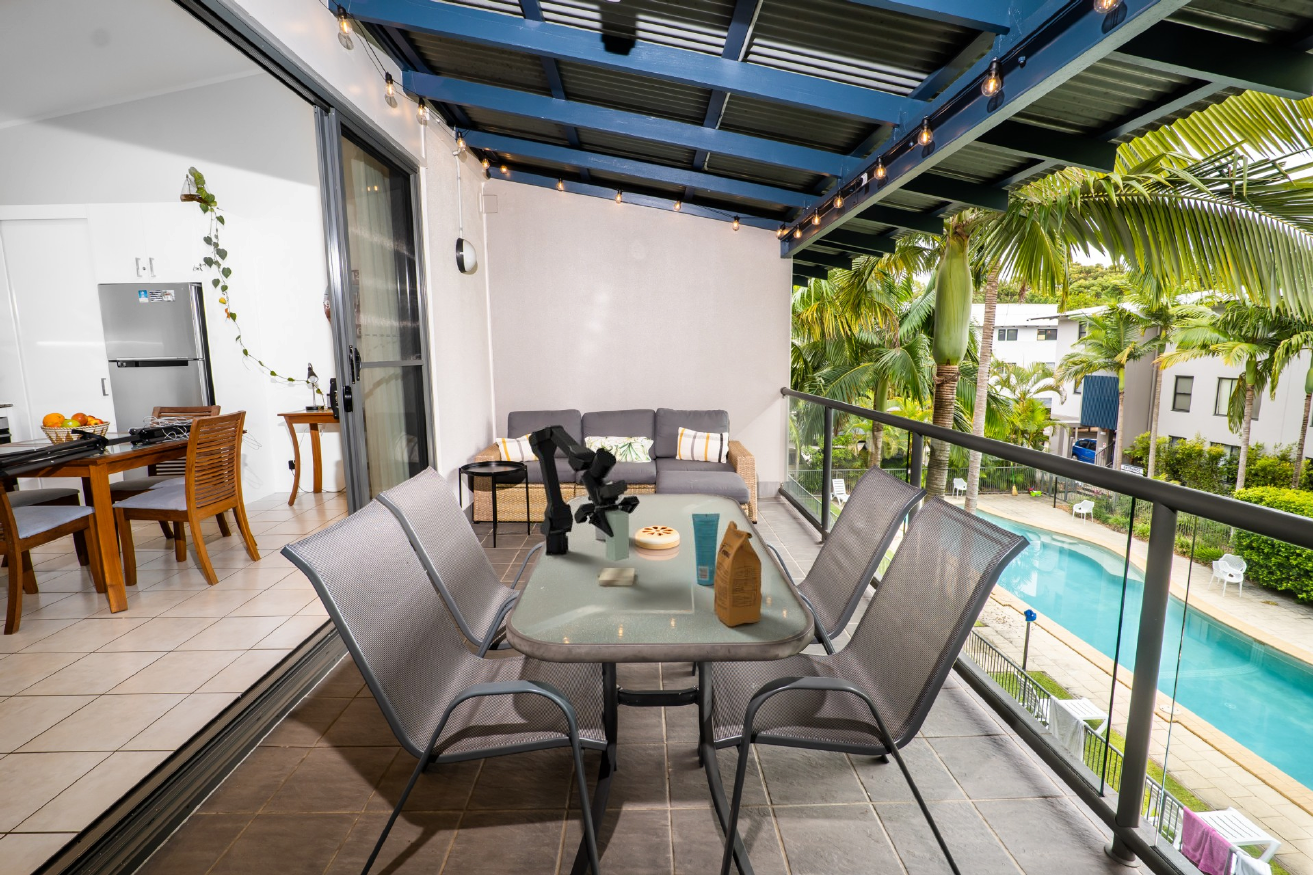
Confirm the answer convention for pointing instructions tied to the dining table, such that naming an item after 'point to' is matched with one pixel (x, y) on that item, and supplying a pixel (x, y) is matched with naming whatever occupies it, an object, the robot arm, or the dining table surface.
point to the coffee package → (737, 579)
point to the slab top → (617, 576)
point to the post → (618, 535)
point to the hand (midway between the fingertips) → (620, 535)
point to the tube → (705, 546)
